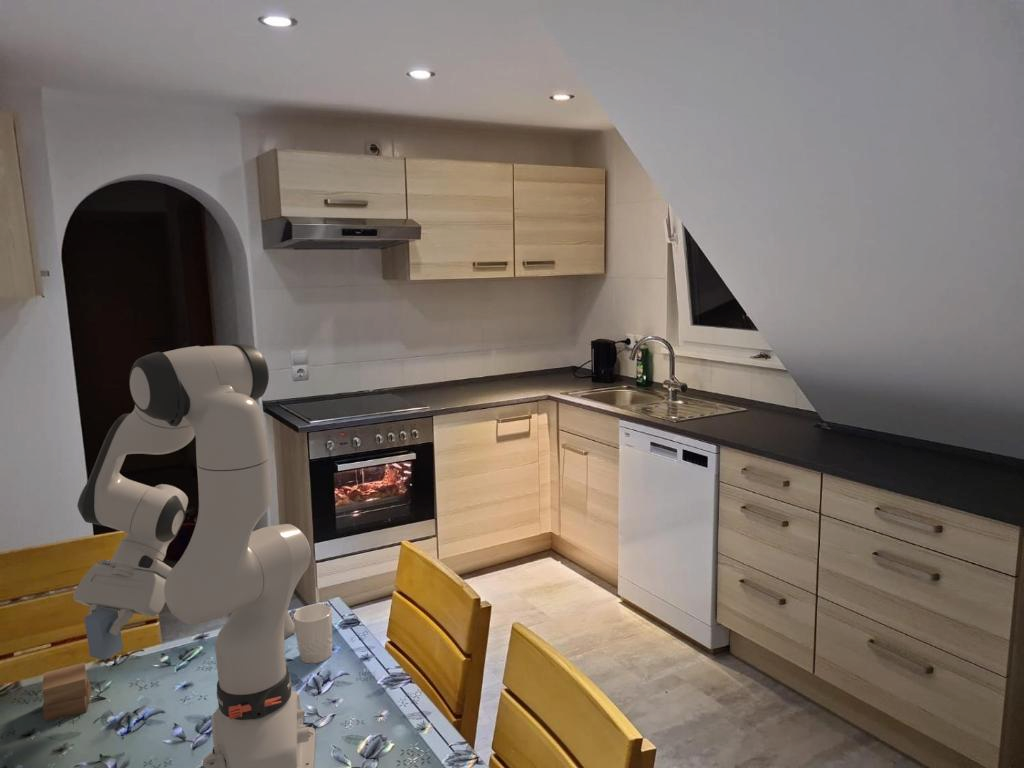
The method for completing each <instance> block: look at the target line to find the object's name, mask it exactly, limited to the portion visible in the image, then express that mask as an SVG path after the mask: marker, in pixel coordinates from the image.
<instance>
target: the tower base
mask: <svg viewBox="0 0 1024 768" xmlns="http://www.w3.org/2000/svg"><path fill="white" fill-rule="evenodd" d="M91 688H92V687H91V682H90V678H87V696H84V697H80V698H76V699H73V700H69V701H65V702H62V703H58V704H54V705H51V706H47V707H45V705H44V702H43V704H42V713H43V718H44V723H47V722H51V721H55V720H59V719H58V718H60V719H63V718H62V717H64V718H67V717H66V716H68V717H72V716H71V715H73V716H76V715H75V714H77V715H80V713H81V714H84V713H85V712H86V713H87V712H88V709H89V705H90V699H91V696H92V689H91ZM50 720H51V721H50ZM46 721H47V722H46Z"/></svg>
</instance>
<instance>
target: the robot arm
mask: <svg viewBox="0 0 1024 768" xmlns="http://www.w3.org/2000/svg"><path fill="white" fill-rule="evenodd" d="M269 375H270V373H269V367H268V364H267V361H266V359H265V357H264V356H263V354H262V353H261V352H260V350H259V349H257V348H256V347H254V346H252V345H249V344H242V343H231V344H229V345H204V346H201V345H195V346H188V347H187V346H186V347H181V348H176V349H173V350H168V351H164V352H161V351H156V352H152V353H149V354H146V355H144V356H141V357H139V358H138V359H136V360H135V362H133V365H132V367H131V369H130V372H129V379H128V380H129V383H128V384H129V391H130V395H131V398H132V401H133V403H134V408H133V410H132V412H130V413H123V414H121V415H120V416H119V417H118V418H117V419H116V420H115V421H114V423H113V424H112V425H111V427H110V428H109V430H108V431H107V434H106V436H105V439H104V440H103V442H102V445H101V448H100V450H99V453H98V455H97V457H96V460H95V462H94V466H93V468H92V470H91V473H90V474H89V478H88V480H87V481H86V483H85V486H84V487H83V488H82V490H81V492H80V495H79V497H78V501H77V505H76V506H77V509H78V512H79V513H80V515H81V518H82V519H83V520H84V522H85V523H89V524H93V525H97V526H102V527H108V528H110V529H113V530H117V531H119V532H123V533H127V534H125V536H124V537H123V538H122V540H121V541H120V543H119V545H118V547H117V548H116V550H115V553H114V554H113V556H112V557H111V559H110V560H109V559H107V558H103V559H101V560H100V561H98V562H96V563H94V564H93V565H92V567H90V569H89V570H88V571H87V572H86V573H85V574H84V575H83V577H82V578H81V581H80V582H79V584H77V587H76V588H75V590H74V591H73V595H72V597H73V599H72V600H73V601H74V602H77V603H79V604H81V605H83V606H88V607H89V609H88V615H90V614H92V613H94V612H96V611H98V610H100V609H102V608H105V609H110V610H116V611H118V618H117V619H116V620H115V621H114V622H113V623H109V625H108V628H107V629H106V633H108V634H111V635H118V633H119V631H120V630H122V628H123V627H124V626H125V625H126V624H127V623H128V622H129V621H131V619H132V618H133V615H139V616H141V615H142V616H147V617H152V618H153V617H157V615H158V614H159V613H161V612H162V610H163V608H164V605H165V604H166V606H167V608H168V609H169V611H170V612H171V614H172V615H173V616H174V617H175V618H176V619H178V620H179V621H180V622H182V623H185V624H187V625H191V626H193V625H199V624H203V623H207V622H211V621H215V620H218V619H222V618H223V617H227V616H228V615H229V614H230V616H229V618H228V619H227V621H226V622H225V623H224V625H223V626H222V627H221V629H220V630H219V632H218V634H217V636H216V640H215V644H214V650H215V659H216V660H215V661H216V668H217V678H218V680H217V682H216V700H217V704H218V707H217V709H215V711H214V713H213V714H212V715H211V716H210V720H211V732H212V743H213V747H212V751H211V752H210V753H209V754H207V755H206V756H205V757H204V758H203V760H202V766H203V768H315V759H316V757H315V756H316V743H317V742H316V741H317V733H316V730H315V728H313V727H311V726H307V725H306V724H304V722H303V719H304V718H305V709H304V708H302V706H301V705H302V704H301V696H300V693H298V692H297V691H294V690H293V689H292V677H291V674H290V669H289V667H288V665H287V663H286V662H287V661H286V648H285V647H286V645H285V639H284V627H285V620H286V615H287V611H288V610H289V606H290V604H291V600H292V597H293V594H294V592H295V589H296V587H297V585H298V583H299V582H300V579H302V577H303V575H304V573H305V572H306V571H307V569H308V568H309V566H310V563H311V558H312V557H311V556H312V555H311V554H312V552H311V546H310V543H309V541H308V538H307V537H306V535H305V534H304V533H303V532H302V530H300V528H298V527H296V526H295V525H293V524H291V523H283V524H282V523H281V524H275V525H274V524H273V525H269V526H265V527H261V528H259V529H256V530H254V529H255V527H256V525H257V524H258V523H259V520H261V518H262V517H263V516H264V515H265V514H266V512H267V511H268V509H269V507H270V505H271V502H272V497H273V495H272V483H271V468H270V453H269V444H268V438H267V437H268V436H267V432H266V428H265V423H264V419H263V415H262V412H261V408H260V406H259V403H257V400H259V399H260V398H262V397H263V396H264V394H265V392H266V391H267V388H268V386H269V379H270V376H269ZM194 438H195V454H196V455H195V456H196V470H197V471H196V472H197V484H198V485H197V489H198V513H197V518H196V522H195V527H194V529H193V532H192V534H191V537H190V541H189V542H188V545H187V546H186V548H185V550H184V552H183V554H182V555H181V557H180V558H179V560H178V561H177V563H176V564H175V565H174V566H173V567H171V566H169V565H167V564H166V562H165V561H164V559H165V558H166V555H167V550H168V547H169V545H170V543H172V541H174V539H175V538H176V537H177V536H178V534H179V531H180V530H181V528H182V525H183V524H184V521H185V520H186V512H187V508H188V504H189V498H188V496H187V494H186V493H185V492H184V491H183V490H181V489H180V488H178V487H176V486H174V485H170V484H167V483H166V484H164V483H161V484H158V485H155V486H150V485H147V484H145V483H141V482H138V481H135V480H132V479H129V478H127V477H125V476H123V475H122V474H121V473H120V471H121V469H122V466H123V464H124V462H125V459H126V456H127V455H132V454H133V455H134V454H135V455H136V454H137V455H138V454H144V455H156V456H157V455H158V456H159V455H166V454H167V455H168V454H171V453H174V452H176V451H177V452H178V451H179V450H180V449H183V448H184V447H186V446H187V445H188V444H190V443H191V442H192V441H193V440H194ZM288 612H289V611H288ZM84 628H85V629H86V627H84Z"/></svg>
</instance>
